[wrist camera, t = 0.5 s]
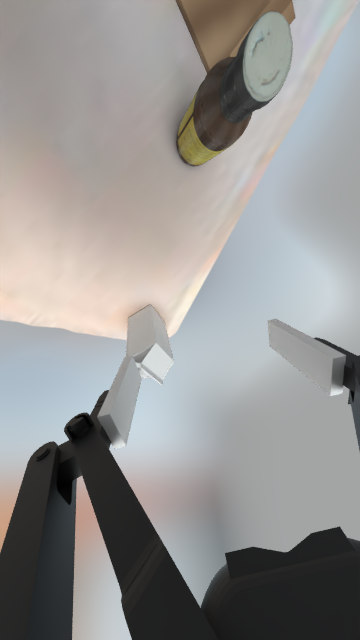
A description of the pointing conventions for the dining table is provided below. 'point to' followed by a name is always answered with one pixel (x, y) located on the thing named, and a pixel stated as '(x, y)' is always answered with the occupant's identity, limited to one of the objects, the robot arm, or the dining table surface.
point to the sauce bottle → (236, 90)
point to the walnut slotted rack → (226, 24)
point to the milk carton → (149, 344)
